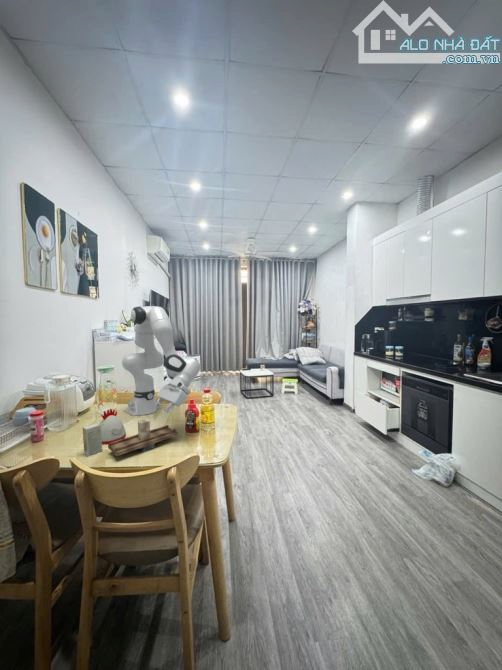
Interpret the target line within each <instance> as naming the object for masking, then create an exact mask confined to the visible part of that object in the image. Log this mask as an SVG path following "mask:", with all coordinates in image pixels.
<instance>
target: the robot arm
mask: <svg viewBox="0 0 502 670" xmlns="http://www.w3.org/2000/svg"><path fill="white" fill-rule="evenodd" d="M130 319H131V321H132V322H133V324H135V331H134V332H135V333H134V334H135V335H134V336H135V339H134V343H135V345H136V346H137V347H138V348H139V349H144V351H143V352H134V353H130V354H125V355H124V356H123V358H122V360H121V364H122V367H123V368H124V370H126V371H127V372H128V373H130V374H131V375H132V376H133V377H132V378H133V379H134V384H135V390H134V391H133V397H132V398H131V399H130V400H129V401H128V403H127V406H128V407H126V408H124V411H125V413H127V414H129V415H130V416H132V417H133V416H145V415H150V414H154V413H155V412H157V411H158V409H159V408H160V407H161V405H162V404H161V403H162V402H163V401H164V402H167V403H168V404H169V405H167V406H166V407H164V409H163V411H165V412H166V413H169V411H170V410H172V409H173V408H174V407H175V406H176V407H181V406H182V405H183V404H184V402H185V401H186V400H187V398H188V396H189V395H190V394H191V393H192V391H191V389H190V388H189V387H190V385H191V383H192V381H193V380H195V379H196V377H197V376H198V374H199V373H200V371H201V364H200V362H199V361H198V360H197V359H196V358H194V357H185V356H181V355H178V354H177V352H176V349H175V344H174V333H173V326H172V323H171V320H170V319H171V318H170V312H169V309H168V308H167V307H165V306H155V305H148V306H147V305H145V306H135V307H133V308H132V309H131V313H130ZM155 339H156V340H157V342H158V344H159V345H160V347H161V349H162V351H163V354H164V355H163V354H162V352H160V351H159V350H158V349H157V348H156V345H155ZM164 356H165V357H164ZM163 365H164V368H165V371H166V373H167V377H168V378H169V379H171V381H170V382H169V383H168V384H165V385H164V386H162V388H161V389H159V391H158V392H157V393H155V392H156V391H155V387H154V386H155V385H154V382H155V381H154V378H153V376H152V375H150V374H148V373H145V370H150V369H157V368H160V367H162V366H163ZM155 395H156V396H155ZM157 397H158V399H157Z"/></svg>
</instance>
